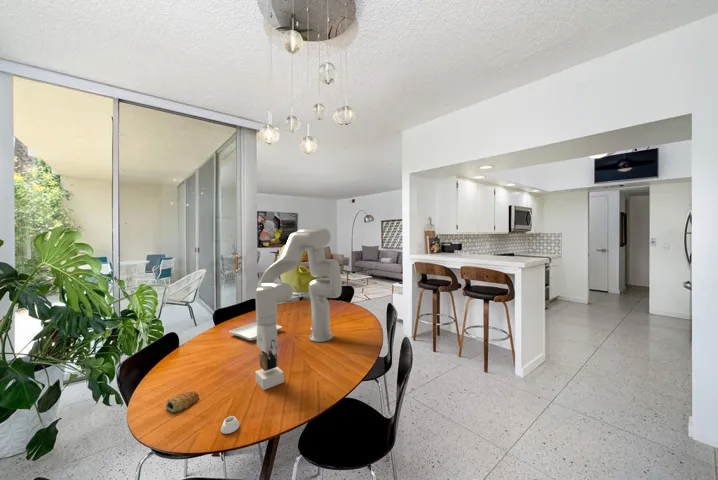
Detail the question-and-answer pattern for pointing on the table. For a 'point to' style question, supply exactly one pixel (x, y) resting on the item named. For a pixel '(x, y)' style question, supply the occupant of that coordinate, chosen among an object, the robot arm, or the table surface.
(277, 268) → the robot arm
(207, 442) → the table surface
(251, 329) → the salad plate
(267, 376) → the base
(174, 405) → the pastry
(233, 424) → the white jar
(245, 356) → the table surface
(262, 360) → the cube
